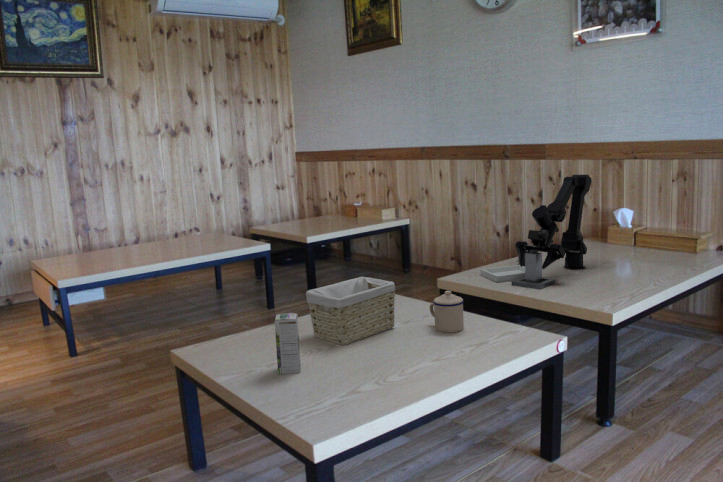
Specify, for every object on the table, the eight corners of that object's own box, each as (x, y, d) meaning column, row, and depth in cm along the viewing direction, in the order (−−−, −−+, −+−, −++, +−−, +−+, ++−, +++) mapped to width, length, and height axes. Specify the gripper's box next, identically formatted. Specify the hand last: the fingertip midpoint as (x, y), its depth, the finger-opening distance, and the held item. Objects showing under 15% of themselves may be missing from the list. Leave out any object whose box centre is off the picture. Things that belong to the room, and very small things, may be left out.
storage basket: (340, 348, 171) (337, 298, 169) (306, 337, 183) (303, 290, 181) (400, 328, 187) (397, 281, 185) (364, 318, 199) (362, 275, 197)
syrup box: (279, 367, 160) (274, 314, 157) (301, 365, 160) (297, 312, 158) (278, 375, 154) (273, 320, 152) (301, 373, 154) (297, 318, 152)
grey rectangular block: (531, 282, 234) (531, 251, 232) (542, 283, 231) (541, 252, 229) (525, 284, 231) (525, 253, 229) (536, 285, 228) (535, 254, 226)
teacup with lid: (470, 327, 183) (469, 290, 181) (451, 335, 177) (449, 296, 175) (440, 320, 192) (439, 284, 190) (421, 327, 186) (419, 290, 184)
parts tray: (519, 270, 255) (519, 264, 255) (538, 277, 241) (538, 271, 240) (480, 275, 251) (480, 269, 250) (497, 282, 236) (497, 276, 236)
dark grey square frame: (527, 279, 239) (527, 275, 239) (556, 282, 231) (556, 278, 231) (511, 285, 231) (511, 281, 231) (540, 289, 223) (540, 285, 222)
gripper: (516, 220, 237) (501, 252, 231) (561, 223, 223) (546, 257, 217) (527, 237, 243) (513, 269, 237) (571, 240, 230) (557, 274, 224)
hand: (531, 267), depth 229 cm, fingers open, 9 cm apart
